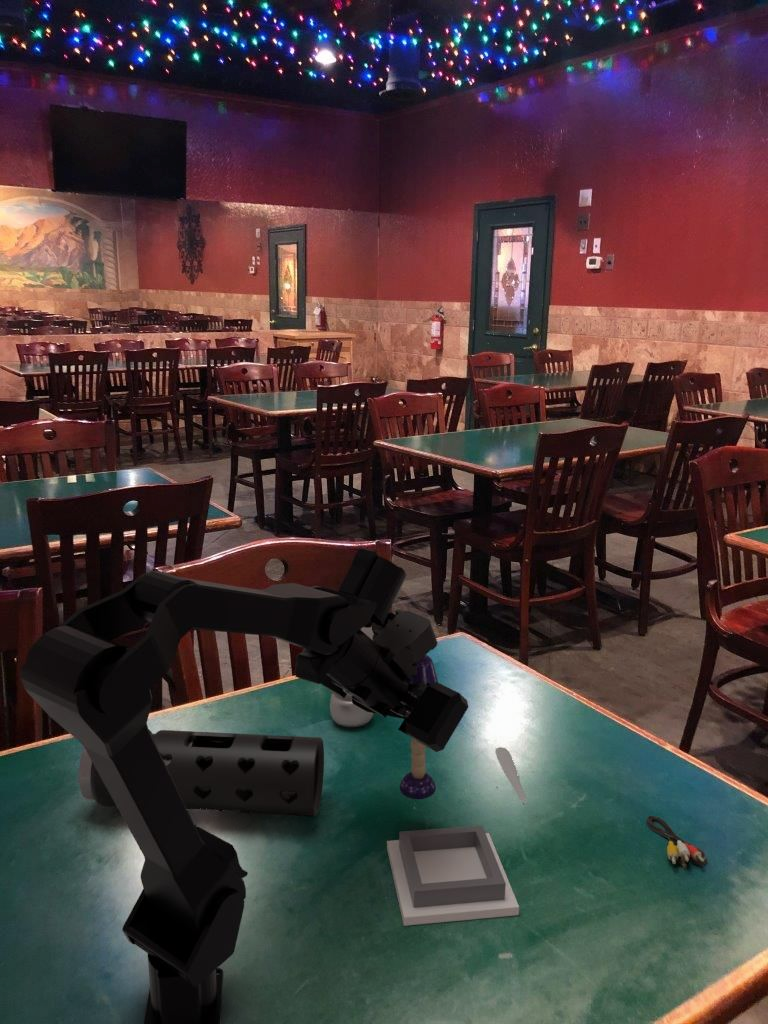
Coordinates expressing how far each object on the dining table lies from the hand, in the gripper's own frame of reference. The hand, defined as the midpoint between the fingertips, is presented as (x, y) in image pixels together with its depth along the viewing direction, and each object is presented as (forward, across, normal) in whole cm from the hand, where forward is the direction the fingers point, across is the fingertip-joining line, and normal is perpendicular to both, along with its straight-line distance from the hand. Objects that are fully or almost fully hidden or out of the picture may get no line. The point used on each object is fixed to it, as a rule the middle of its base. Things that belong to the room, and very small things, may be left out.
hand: (426, 722), depth 97 cm
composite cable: (+23, -23, -4) cm, 33 cm away
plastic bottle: (+16, +24, +3) cm, 29 cm away
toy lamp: (+5, 0, +7) cm, 8 cm away
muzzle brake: (-3, +19, +23) cm, 30 cm away
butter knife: (+18, -6, +1) cm, 20 cm away
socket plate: (+6, -9, +13) cm, 17 cm away
